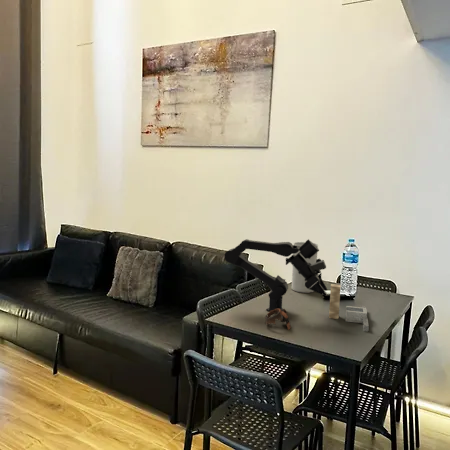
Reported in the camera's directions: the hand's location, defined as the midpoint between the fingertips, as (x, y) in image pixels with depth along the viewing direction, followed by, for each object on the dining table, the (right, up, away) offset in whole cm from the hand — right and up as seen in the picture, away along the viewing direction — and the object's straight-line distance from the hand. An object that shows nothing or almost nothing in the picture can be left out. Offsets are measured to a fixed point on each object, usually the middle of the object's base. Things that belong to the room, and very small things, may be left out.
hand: (326, 292), depth 191 cm
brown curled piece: (-22, -12, -13) cm, 29 cm away
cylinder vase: (-2, -6, +44) cm, 45 cm away
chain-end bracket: (+12, -11, -2) cm, 16 cm away
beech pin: (+3, -11, 0) cm, 11 cm away
